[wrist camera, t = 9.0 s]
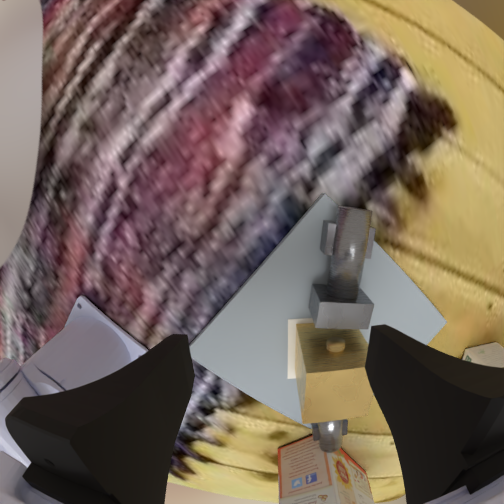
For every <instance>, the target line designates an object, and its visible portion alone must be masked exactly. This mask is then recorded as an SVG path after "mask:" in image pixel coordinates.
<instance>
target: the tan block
mask: <svg viewBox="0 0 504 504" xmlns="http://www.w3.org/2000/svg"><path fill="white" fill-rule="evenodd" d="M367 351H368V343H367V342H366V340H365V338H364V336H363V335H362V333H361V331H360V330H359V329H326V328H315V325H314V323H303V324H296V346H295V375H296V382H297V389H298V395H299V402H300V409H301V416H302V423H303V424H308V423H319V422H328V421H336V420H343V419H350V418H356V417H362V416H368V412H369V409H370V405H371V401H372V397H373V391H372V389H371V387H370V384H369V380H368V377H367V374H366V370H365V362H366V357H367Z"/></svg>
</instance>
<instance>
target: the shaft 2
mask: <svg viewBox="0 0 504 504" xmlns="http://www.w3.org/2000/svg"><path fill="white" fill-rule="evenodd" d="M347 426H348V421H347V419H343V420H336V421H328V422H319V423H311V428H312V434H313V440H314V441H317V440H319V447H320V449H321V450H322V451H324V452H327V453H332V452H335V451H337V450H339V449H340V447H341V446H342V435H346V434H347Z"/></svg>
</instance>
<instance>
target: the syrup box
mask: <svg viewBox="0 0 504 504" xmlns="http://www.w3.org/2000/svg"><path fill="white" fill-rule="evenodd" d="M462 360H465V361H469V362H472V363H477V364H481V365H486V366H492V367H500V368H504V348H503V347H502V346H501V345H500V344H499V343H497V342H494V343H489V344H484V345H480V346H476V347H471V348H467V349H465V351H464V356H463V359H462Z"/></svg>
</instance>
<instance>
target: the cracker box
mask: <svg viewBox="0 0 504 504" xmlns="http://www.w3.org/2000/svg"><path fill="white" fill-rule="evenodd" d="M278 480H279V504H374V500H373V496H372V492H371V489H370V485H369V481H368V477H367V474H366V472H365V471H364V470H363V469H362V468H361V467H360V466H359V465H358V464H357V463H356V462H354V461H353V460H352V459H351V458H350V457H349V456H348V455H347V454H346V453H345V452H344V451H343V450H342V449H341V448H340V449H339V450H337V451H335V452H332V453H327V452H324V451H322V450H321V449H320V447H319V440H317V441H314V440H313V435H312V436H309V437H307V438H304V439H302V440H299V441H297V442H294V443H292V444H289V445H286V446H284V447H281V448H278Z"/></svg>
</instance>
